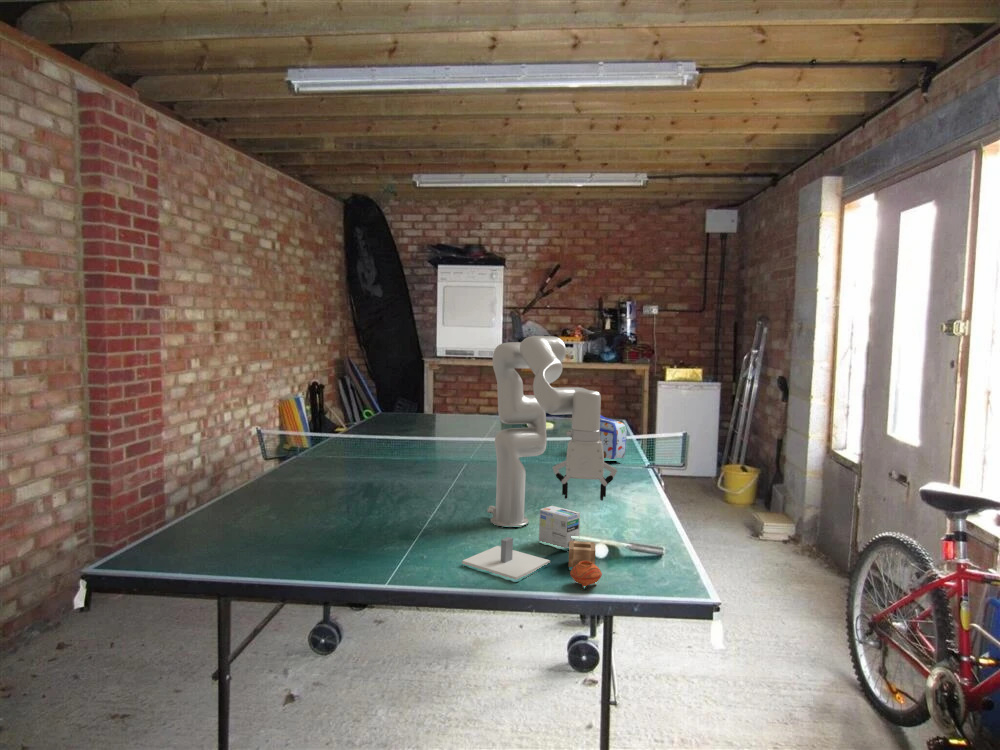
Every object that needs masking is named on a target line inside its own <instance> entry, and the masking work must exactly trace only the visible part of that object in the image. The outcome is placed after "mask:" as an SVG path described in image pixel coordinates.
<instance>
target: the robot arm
mask: <svg viewBox="0 0 1000 750" xmlns="http://www.w3.org/2000/svg"><path fill="white" fill-rule="evenodd" d="M566 356H567V348H566V345H565V343H564V341H563V340H562V339H561V338H560V337H558V336H554V335H553V336H552V335H551V336H550V335H548V336H546V335H531V336H528V337H526V338H524V339H523V340H522V341H520V342H518V341H517V342H516V341H515V342H514V341H513V342H512V341H511V342H510V341H509V342H504V343H500V344H498V345H497V346H495V348H494V351H493V353H492V368H493V371H494V375H495V379H496V383H497V385H496V386H497V411H498V419H499V421H500V422H501V423H502V424H506V425H526V424H527V427H516V428H515V427H514V428H512V427H510V428H505V429H501V430H499V432H497V433H496V434H495V438H494V449H495V454H496V455H495V456H496V486H495V487H496V488H495V489H496V490H495V493H496V495H495V506H494V505H489V506H488V508H487V510H486V512H487V513H489V514H492V517H491V518H490V524H492V523H493V524H495V525H498V526H509V527H510V526H511V527H513V526H522V525H525V524H527V523H528V522H529V523H530V521H529V519H528V517H526V516H525V502H526V501H525V500H526V498H525V496H526V473H527V472H526V469H525V466H524V464H523V463H522V461H521V460H520V458H525V457H526V458H527V457H536V456H537V457H538V456H541V455H543V454H544V452H545V451H546V449H547V441H548V440H547V438H548V437H547V416H546V415H547V414H549V415H551V416H553V415H554V416H556V415H557V416H558V415H571V416H572V417H571V429H570V430H566V434H565V435H566V437H570V438H571V439H569V440H568V443H567V450H566V455H565V456H566V458H565V460H563V461H560V462H559V463H557V464H555V465H553V466H552V471H553V472H554V475H555V476H556V478H557V479H558V480H559V482H560V483H561V484H562V490H561V494H562V496H563V495H564V499H565V500H567V499H568V494H569V493H568V492H569V491H568V490H569V489H568V485H569V483H568V481H569V480H570V479H577V480H578V479H579V480H598V481H599V482H600V487H599V488H600V491H599V492H600V493H599V501H602V502H603V501H604V498H606V496H607V486H608V485H609V484H610V483H611V482H612V481H613V480H614V477H615V476H616V475H617V472H618V470H617V468H615V467H613V466H612V465H610V464H609V463H607V462H605V461H604V452H603V444H602V441H600V415H601V402H602V396H601V393H600V392H599V391H596V390H590V389H587V388H586V387H585V388H584V387H578V386H577V387H575V386H574V387H552V386H551V385H550V384H552V383H554V382H555V381H557V380H558V379H559V378H560V376H561V374H562V373H563V370H564V369H563V367H564V366H563V364H562V362H563V361H564V359H565V358H566ZM516 369H530V370H531V372H532V373H533V374H534V378H533V382H532V383H533V384H532V390H533V394H529V395H528V394H526V395H525V394H524V383H523V382H524V381H523V379H522V377H521V376H520V374H519V372H517V370H516ZM563 468H565V474H564V475H562V474H561V472H560V469H563ZM605 470H607V471H609V472H610V473H609V475H607V476H606V478H605V477H604V471H605ZM529 523H528V524H529ZM493 524H492V525H493ZM495 525H494V526H495ZM498 526H497V527H498Z"/></svg>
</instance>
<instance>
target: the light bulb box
mask: <svg viewBox="0 0 1000 750" xmlns="http://www.w3.org/2000/svg"><path fill="white" fill-rule="evenodd" d="M580 524H581V512H580V511H575V510H570V509H566V508H563V507H559V506H556V505H550V506H546V507H542V508H540V509H539V524H538V525H539V527H538V529H539V530H538V542H539V541H542V542H546V543H550V544H553V545H557V546H561V547H564V548H568V547H569V541H577V540H575V539H572V538H571V536H579V537H580V530H581V529H580V526H581V525H580Z"/></svg>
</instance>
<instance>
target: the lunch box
mask: <svg viewBox="0 0 1000 750" xmlns="http://www.w3.org/2000/svg"><path fill="white" fill-rule="evenodd" d="M626 426H627V425H625V423H623V422H621V421H618V420H614V419H612V418H608V417H605V416H604V415H602V414H600V441H602V444H603V452H604V458H609V459H616V458H624V459H625V457H626V448H627V447H626V446H627V436H628V435H627V434H628V432H627V431H628V430H627V427H626Z"/></svg>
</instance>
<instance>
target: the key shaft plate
mask: <svg viewBox="0 0 1000 750" xmlns="http://www.w3.org/2000/svg"><path fill="white" fill-rule="evenodd" d="M513 546H514V538H513V537H509V536H507V537H505V538H503V539H500V545H496V546H494V547H492V548H488V549H486V550H484V551H481V552H479V553H477V554H475V555H472V556H469V557H468V558H464V559H463V560H462V561H461V565H462V564H465V565H469V566H472V567H475V568H478V569H482V570H486V571H489V572H492V573H495V574H499V575H502V576H505V577H509V578H513V579H516V580H517V579H519V578H521V577H523V576H526V575H528V574H530V573H532V572H534V571H536V570H537V569H539V568H541V567H542V566H544V565H547V564H548V563H550V564H551V560H549V559H546V558H543V557H540V556H535V555H532V554H529V553H525V552H521V551H518V550H514V549H513V548H514V547H513Z"/></svg>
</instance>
